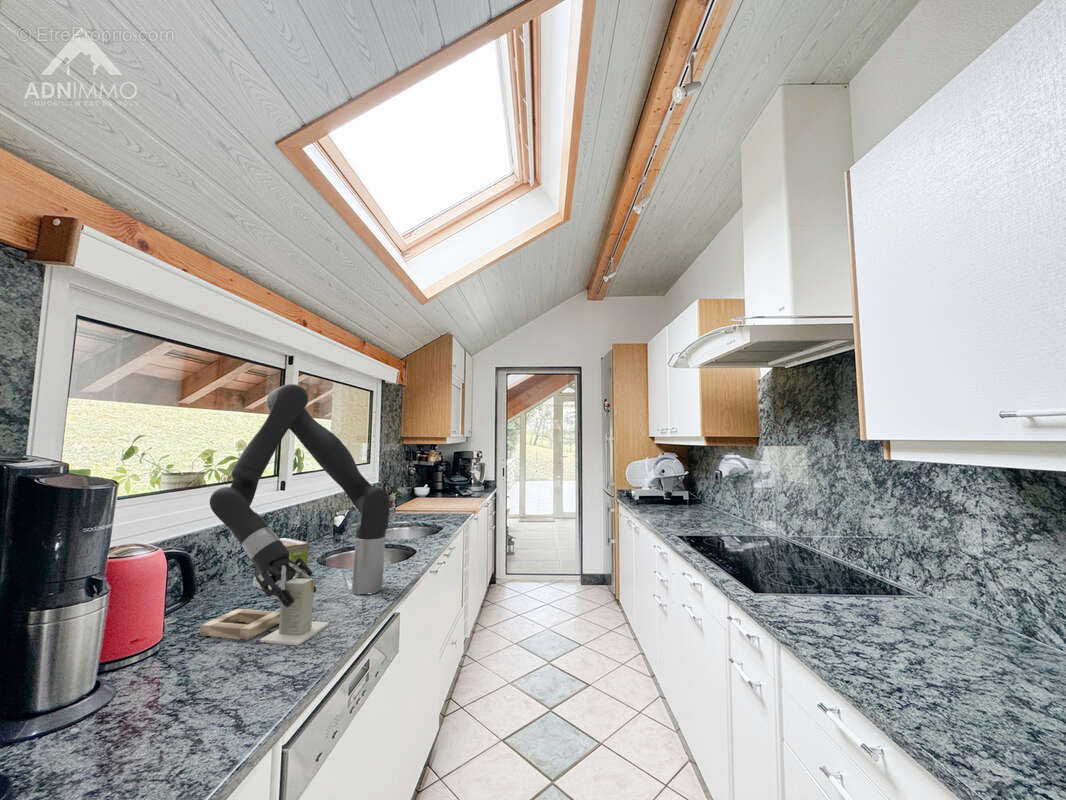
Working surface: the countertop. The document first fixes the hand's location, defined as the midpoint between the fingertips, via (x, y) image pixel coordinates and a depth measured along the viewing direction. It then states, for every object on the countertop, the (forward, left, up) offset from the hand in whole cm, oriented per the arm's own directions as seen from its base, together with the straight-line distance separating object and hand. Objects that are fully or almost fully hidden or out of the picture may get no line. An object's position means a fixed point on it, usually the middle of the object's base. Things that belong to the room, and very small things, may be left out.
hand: (302, 598), depth 108 cm
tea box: (-31, -30, -9) cm, 44 cm away
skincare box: (0, -1, -8) cm, 8 cm away
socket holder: (0, -16, -8) cm, 18 cm away
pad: (0, -1, -8) cm, 8 cm away
